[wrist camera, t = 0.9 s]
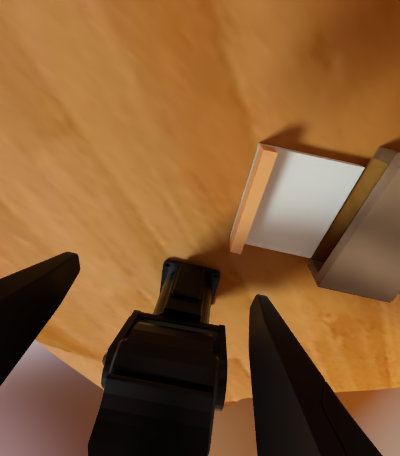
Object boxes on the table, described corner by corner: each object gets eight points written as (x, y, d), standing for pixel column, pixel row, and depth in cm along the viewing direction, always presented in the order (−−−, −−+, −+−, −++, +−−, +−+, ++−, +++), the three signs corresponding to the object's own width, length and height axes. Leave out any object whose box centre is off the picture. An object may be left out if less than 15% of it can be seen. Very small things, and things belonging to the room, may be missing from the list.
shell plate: (306, 250, 22) (316, 271, 19) (230, 233, 22) (230, 251, 19) (356, 163, 17) (379, 174, 15) (258, 142, 17) (263, 149, 15)
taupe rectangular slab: (371, 279, 22) (390, 302, 20) (307, 265, 22) (317, 286, 20) (469, 166, 16) (514, 179, 13) (379, 146, 16) (407, 156, 13)
